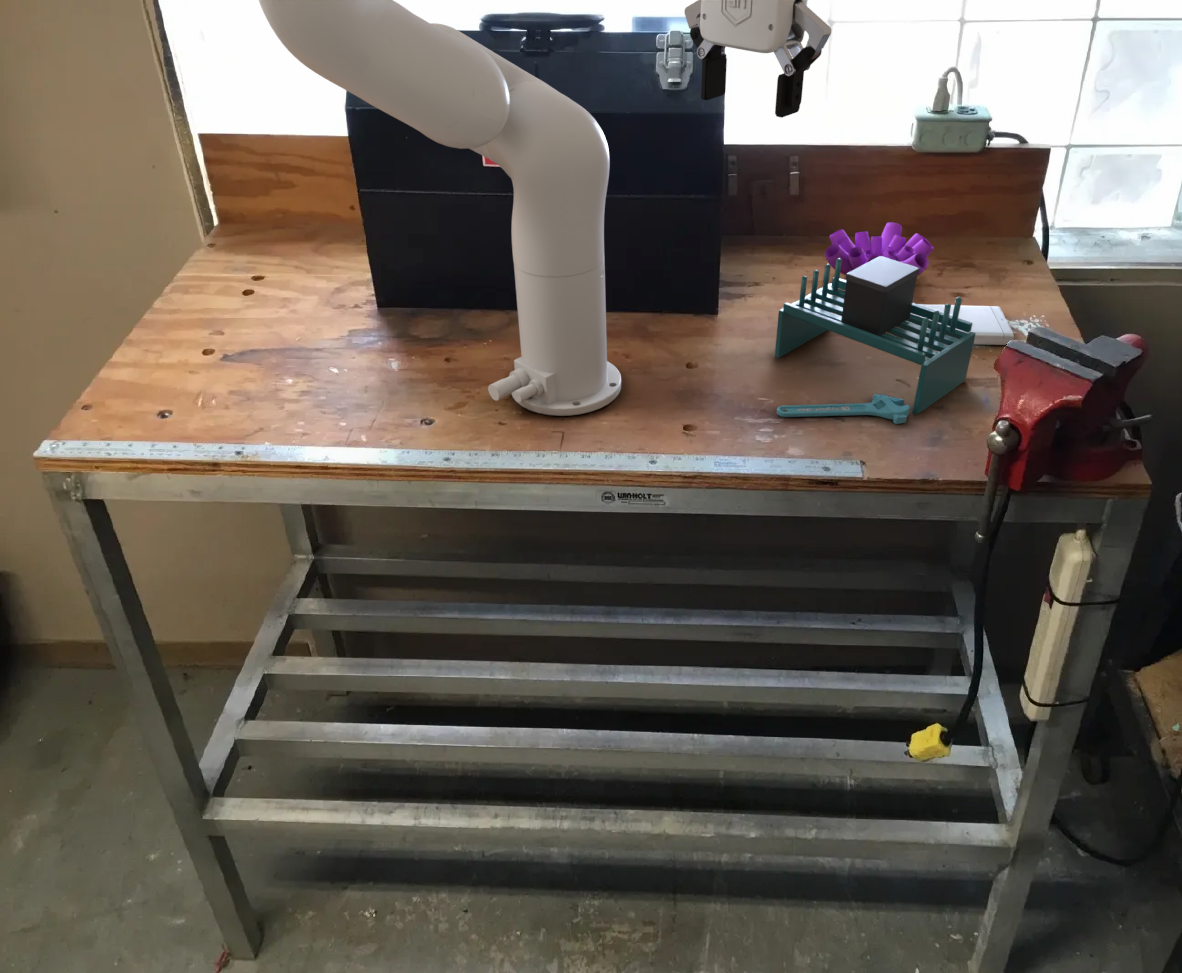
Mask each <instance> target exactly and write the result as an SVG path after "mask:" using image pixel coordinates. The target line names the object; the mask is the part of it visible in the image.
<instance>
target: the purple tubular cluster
mask: <svg viewBox="0 0 1182 973" xmlns="http://www.w3.org/2000/svg"><path fill="white" fill-rule="evenodd" d="M902 231H903V226H902V225H901V224H899V223H897V222H886V224H885V226H884V228H883V231H882V233H881V236H879V235H873V236H871V239H870V236H869V232H868V231H867V230H866V231H865V230H864V231H859V232H855V235H854V240H855V241H854V242H855V244H854V243H853V241H852V240H851V239H850V237H849V236H848V234H847V233H846V231H845V230H844V229H839V230H836V231H835V232H833V233H831V234H829V240H830V242H831V245H829V246H828V247H827V248H826V249H825V251H824V258H825V260H826V262H827V264H829V265H830V267H831V268H833V270H835V267H836V260H837V259H838V258H840V259H841V260H842V262H841V270H840V274H842V275H845V276H846V274H847V273H849V272H851V271H853V270H854V269H856V268H858V267H860V266H862V265H864V264H866V263H868V262H870V261H871V260H873V259H875V258H877V257H879V256H883V257H886V258H889V259H892V260H895V261H899V262H902V263H905V264H908V265H911V266H915V267H918V268H920V270H919V274H917V277H918V276H920V275H921V274H922V273H924V271H926V269H927V268H928V267H929V258H928V257H929V256H930V255H931V254H932V252H933V251H934V245H933V244H931V242H930V241H929V240H928V239H927V238H925V237H924V236H923V235H921V234H919V233H915V234H913V235H912V236H911V238H910V239H908V241H907V238H906V237H904V236H902ZM906 241H907V242H906Z"/></svg>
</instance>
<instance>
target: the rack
mask: <svg viewBox="0 0 1182 973" xmlns="http://www.w3.org/2000/svg"><path fill="white" fill-rule="evenodd" d="M841 262H842V260H841V259H840V258H838V259H837V260H836V267H835V269H834V277H832V279H831V283H830V274H831V265H830V264H829V263H826V264H825V265H824V272H823V279H822V280H823V282H822V287H820V288H818V284H819V276H820V271H819V270H818V269H814V270H813V273H812V274H813V275H812V282H811V292H810V293H809V294H807V285H808V284H807V282H808V276H806V275H802V276H801V280H800V281H801V282H800V291H799V299H798V300H796V301H793V302H792V303H790V302H787V301H786V302H784V303H783V307H782V308H781V309H780V308H779V310H778V315H777V326H776V336H775V337H776V339H775V350H774V357H776V358H778V359H779V358H781V357H782V356H784V355H787V354H788V353H790V352H792V351H794V350H795V349H797V348H799V347H800V346H802V345H804V344H806V343H807V342H809V341H811V340H813V339H815V338H816V337H818V336H820V335H821V334H823V333H825V332H826V331H829V332H832V333H834V334H837V335H840V336H842V337H845V338H847V339H850V340H853V341H854V342H858V343H861V344H863V345H866V346H869V347H871V348H874V349H877V350H880V351H882V352H884V353H887V354H890V355H892V356H895V357H898V358H899V359H900V358H901V359H903V360H906V361H908V362H911V363H914V364H916V365H919V366H920V371H919V376H918V382H917V387H916V392H915V397H914V403H913V407H912V414H913V415H917V416H918V415H919V414H920V413H922V412H923V411H925V410H926V409H928V408H929V407H930V406H932V405H933V404H935V403H936V402H937V401H939V400H940V399H942V398H943V397H944V396H946V395H947V394H950V392H951V391H953V390H954V389H956V388H958V387H959V386H960V385H962V384H963V383H964V382H965V381H966V380H967V374H968V370H969V366H970V361H971V357H972V352H973V347H974V344H973V343H974V339H975V334H976V333H974V332H970V331H971V328H972V323H971V322H968V321H965V320H962V319H959V318H958V316H959V311H960V306H961V305H962V302H963V298H962V297H961V296H957V297H956V298H955V302H954V305H955V306H954V311H953V316H951V315H949V314H950V309H951V305H952V304H951V303H946V304H944V305H945V308H944V313H942V312H939V311H938V310H933V309H930V308H927V307H924V306H921V305H918V304H919V303H915V302H913V303H912V309H911V313H912V314H910V318H909V319H907V320H906V321H904V322H902V323H901V324H899V325H897V326H896V327H894V328H893V329H891V330H889V331H888V332H886V333H884V334H883V335H881V336H877V335H874V334H872V333H869V332H866V331H864V330H861V329H858V328H855V327H853V326H850V325H847V324H845V323H842V322H841V319H842V311H843V304H844V296H845V288H846V281H847V280H846V279H843V278H840V276H841V273H840V270H841ZM806 294H807V295H806ZM913 314H915V315H913ZM916 315H918V316H916ZM919 316H921V317H919ZM922 317H924V318H922ZM928 319H930V320H932V321H930V320H928ZM907 321H908V322H907ZM910 322H911V323H910ZM913 323H914V324H913ZM939 323H941V324H939ZM916 324H917V325H916ZM918 325H920V326H918ZM948 326H950V327H948ZM900 328H902V329H900ZM927 328H928V329H927ZM903 329H905V330H903ZM930 329H931V330H930ZM957 329H959V330H962V331H965V332H968V333H965V332H962V331H959V330H957ZM906 330H907V331H906ZM909 331H910V332H909ZM936 331H937V332H936ZM912 332H913V333H912ZM938 332H939V333H938ZM914 333H916V334H914ZM917 334H919V335H917ZM947 335H948V336H947ZM950 336H951V337H950ZM926 337H927V338H926ZM953 337H954V338H953ZM928 338H929V339H928ZM956 338H957V339H956ZM904 339H906V340H904ZM958 339H959V340H958ZM907 340H909V341H907ZM910 341H911V342H910ZM937 341H938V342H937ZM913 342H914V343H913ZM940 342H941V343H940ZM942 343H944V344H942Z"/></svg>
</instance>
